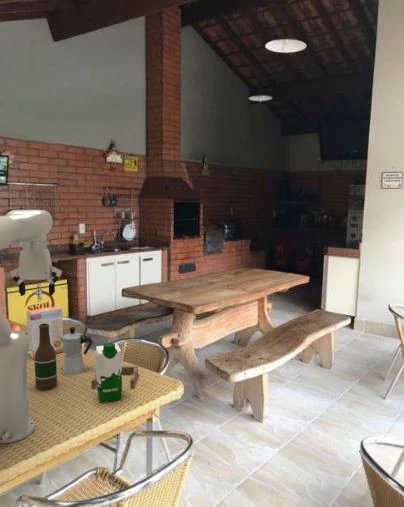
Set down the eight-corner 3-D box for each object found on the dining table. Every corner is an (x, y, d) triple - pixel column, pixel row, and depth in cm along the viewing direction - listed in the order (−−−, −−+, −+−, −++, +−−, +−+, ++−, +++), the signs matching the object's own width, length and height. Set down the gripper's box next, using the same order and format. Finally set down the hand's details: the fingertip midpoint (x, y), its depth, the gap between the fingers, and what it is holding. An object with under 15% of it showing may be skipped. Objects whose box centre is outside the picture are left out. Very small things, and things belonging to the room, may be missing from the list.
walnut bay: (133, 388, 158) (133, 380, 158) (92, 388, 158) (91, 380, 157) (137, 373, 171) (137, 366, 171) (99, 373, 171) (99, 366, 170)
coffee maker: (53, 373, 171) (52, 329, 169) (64, 364, 180) (63, 323, 177) (88, 376, 168) (87, 332, 166) (97, 367, 177) (96, 325, 175)
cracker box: (59, 348, 198) (57, 305, 195) (64, 352, 194) (62, 307, 191) (28, 355, 189) (26, 310, 186) (32, 359, 185) (30, 313, 182)
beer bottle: (50, 392, 154) (47, 328, 151) (31, 390, 156) (28, 326, 153) (61, 383, 162) (59, 322, 159) (43, 381, 164) (40, 320, 160)
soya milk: (98, 404, 145) (97, 348, 143) (95, 393, 154) (93, 340, 151) (124, 400, 149) (123, 345, 146) (119, 389, 157) (118, 337, 154)
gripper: (4, 247, 141) (7, 297, 143) (57, 247, 142) (59, 297, 144) (13, 244, 148) (15, 292, 151) (63, 244, 149) (65, 292, 152)
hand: (37, 294), depth 147 cm, fingers open, 9 cm apart
